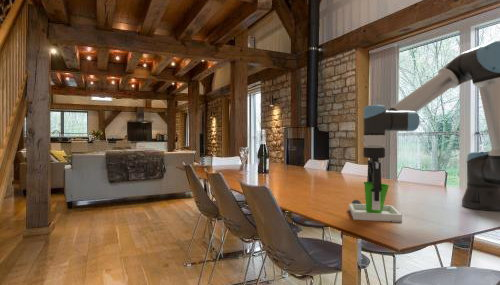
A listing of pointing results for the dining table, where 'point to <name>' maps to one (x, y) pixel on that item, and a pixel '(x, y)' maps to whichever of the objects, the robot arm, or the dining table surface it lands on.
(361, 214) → the tray
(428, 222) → the dining table surface
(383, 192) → the cup
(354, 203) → the ball
